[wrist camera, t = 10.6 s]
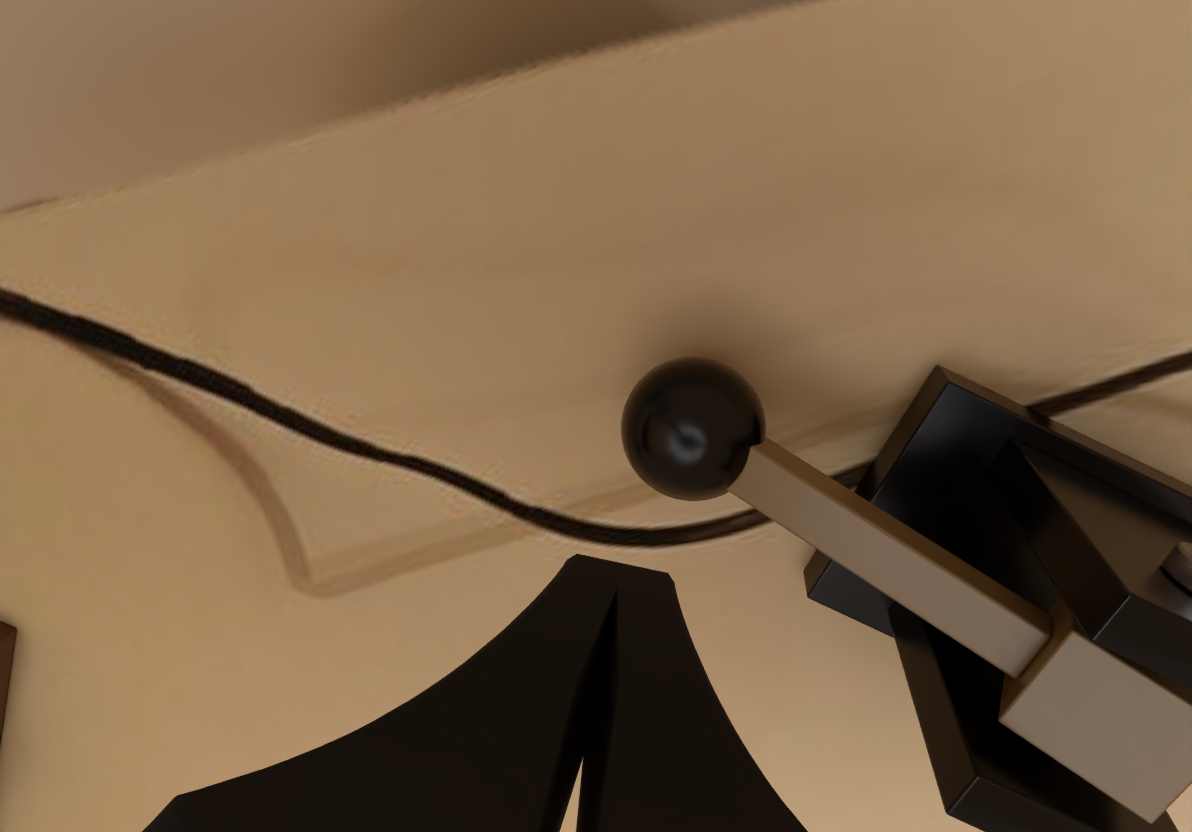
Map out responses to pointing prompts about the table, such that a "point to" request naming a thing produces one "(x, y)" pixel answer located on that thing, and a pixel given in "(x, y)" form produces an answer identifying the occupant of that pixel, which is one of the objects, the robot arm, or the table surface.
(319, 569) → the table surface
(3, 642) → the switch block
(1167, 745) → the lever
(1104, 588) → the lamp switch bracket
